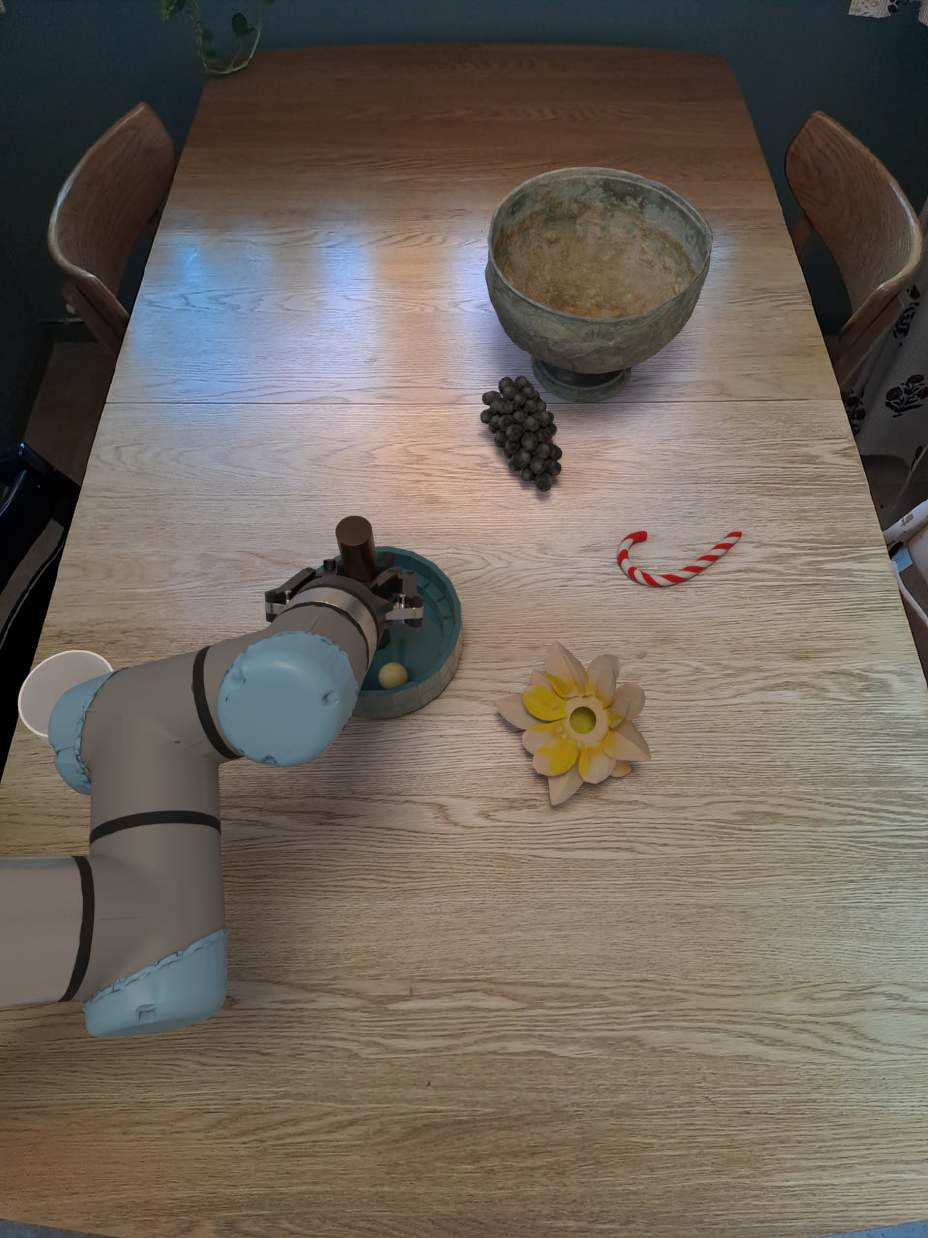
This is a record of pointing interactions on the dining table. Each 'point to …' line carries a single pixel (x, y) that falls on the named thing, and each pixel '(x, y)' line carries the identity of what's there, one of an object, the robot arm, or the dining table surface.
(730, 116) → the dining table surface
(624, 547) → the candy cane
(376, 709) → the teal bowl
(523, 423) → the fruit
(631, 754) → the decorative flower
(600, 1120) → the dining table surface
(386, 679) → the bead
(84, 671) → the cup
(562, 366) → the decorative bowl
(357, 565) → the brown wooden dowel
